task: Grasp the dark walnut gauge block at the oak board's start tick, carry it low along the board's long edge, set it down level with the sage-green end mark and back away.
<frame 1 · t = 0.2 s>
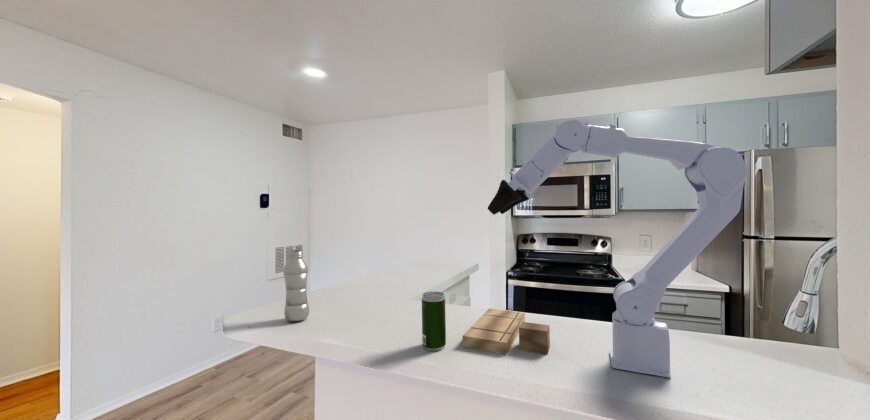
hand: (495, 211, 77), 31 cm above the countertop, tool tilted 45°, fingers open, 7 cm apart
walnut gauge block: (534, 348, 74), on the countertop
oak board: (496, 333, 83), on the countertop
plastic bottle: (297, 321, 95), on the countertop
beer can: (434, 347, 75), on the countertop
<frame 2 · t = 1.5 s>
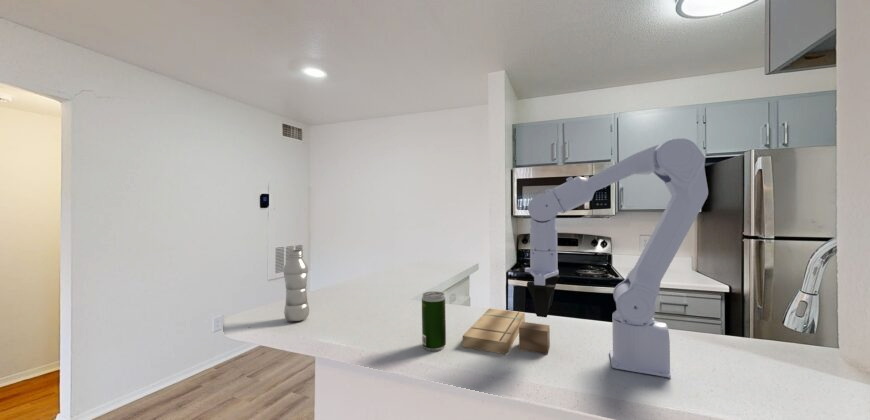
hand: (544, 311, 73), 8 cm above the countertop, tool pointing down, fingers open, 7 cm apart
nothing on the countertop moved.
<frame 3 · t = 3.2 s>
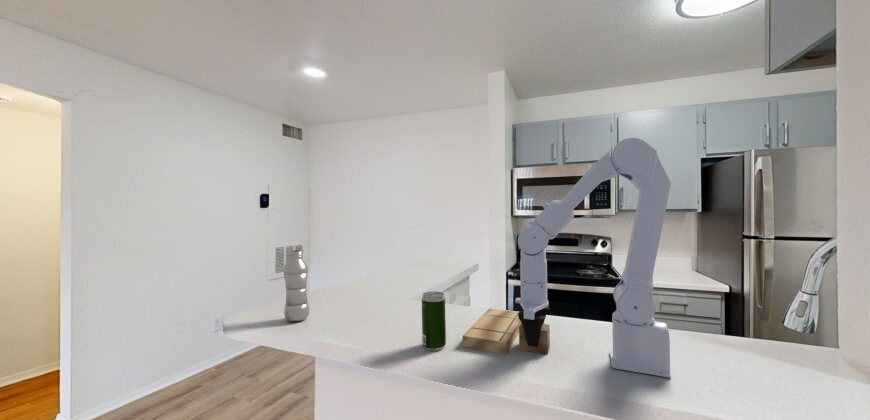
hand: (534, 341, 74), 1 cm above the countertop, tool pointing down, fingers closed on walnut gauge block, 4 cm apart
walnut gauge block: (534, 348, 74), on the countertop, touching gripper
everything else where it was.
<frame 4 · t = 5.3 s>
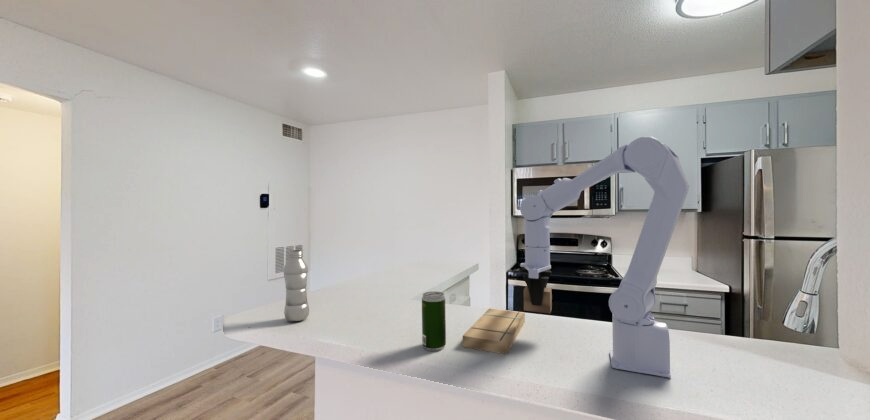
hand: (538, 302, 80), 8 cm above the countertop, tool pointing down, fingers closed on walnut gauge block, 4 cm apart
walnut gauge block: (537, 309, 80), point 7 cm above the countertop, touching gripper
everything else where it was.
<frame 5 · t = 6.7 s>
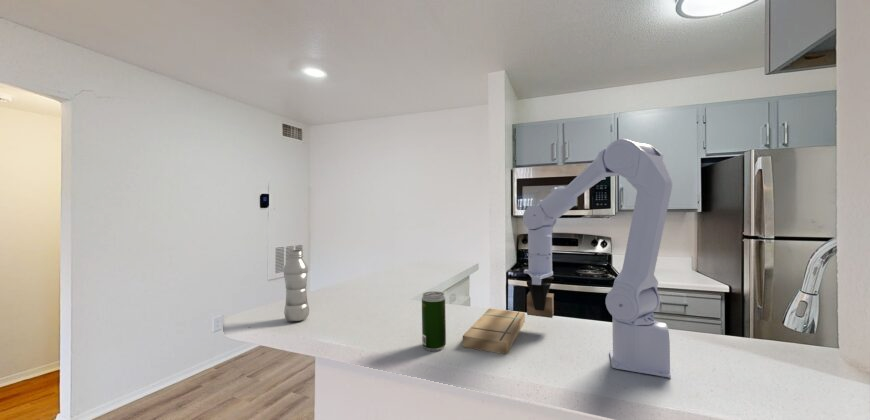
hand: (540, 307, 84), 6 cm above the countertop, tool pointing down, fingers closed on walnut gauge block, 4 cm apart
walnut gauge block: (540, 314, 84), point 4 cm above the countertop, touching gripper
everything else where it was.
when the fingers open (3 cm above the countertop, at t = 7.8 s): walnut gauge block drops 1 cm, on the countertop.
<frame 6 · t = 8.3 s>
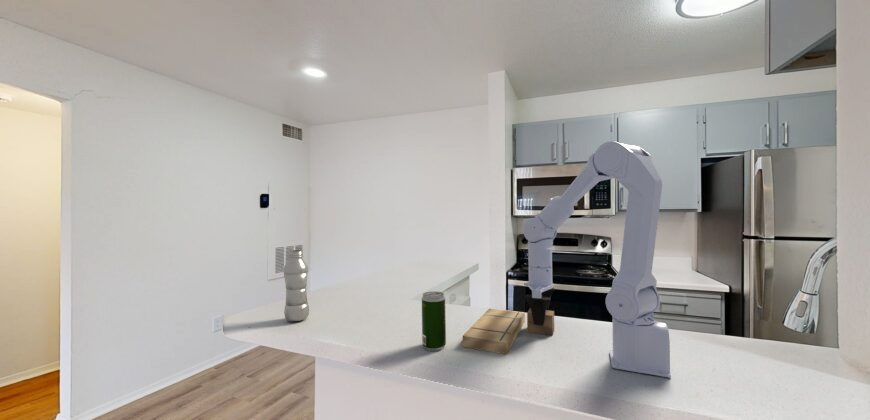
hand: (540, 319, 84), 3 cm above the countertop, tool pointing down, fingers open, 7 cm apart
walnut gauge block: (541, 331, 84), on the countertop
everything else where it was.
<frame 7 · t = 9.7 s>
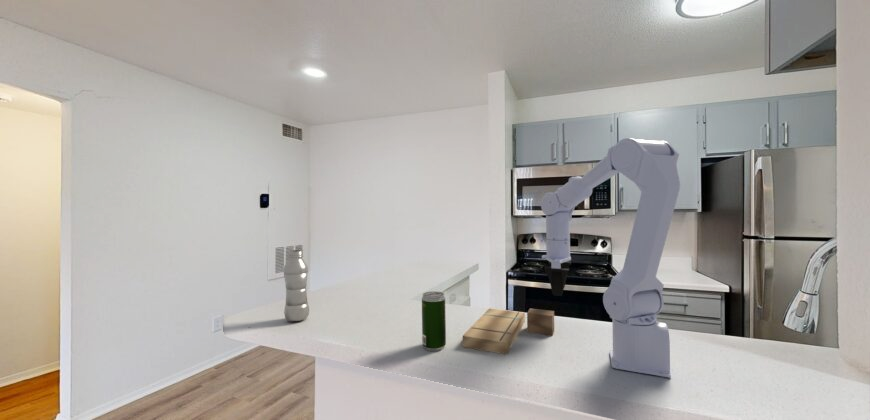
hand: (558, 291, 85), 9 cm above the countertop, tool pointing down, fingers open, 7 cm apart
nothing on the countertop moved.
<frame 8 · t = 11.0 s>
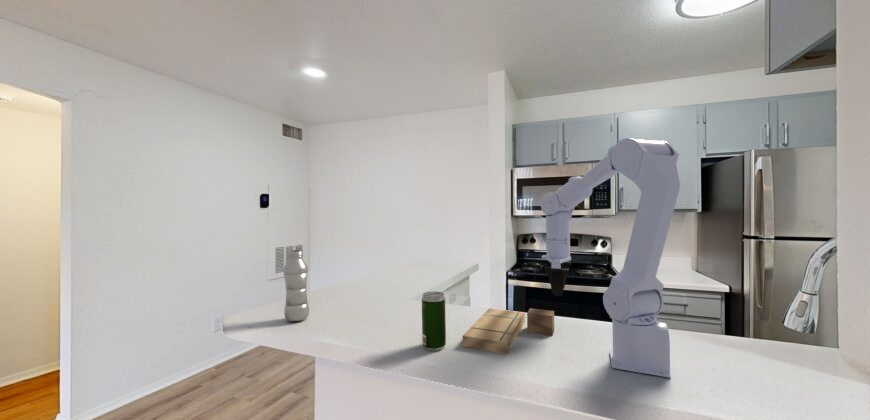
hand: (558, 291, 85), 9 cm above the countertop, tool pointing down, fingers open, 7 cm apart
nothing on the countertop moved.
at the end: walnut gauge block 0.1 cm from the target spot, on the countertop; walnut gauge block tilted 0°; the gripper is holding nothing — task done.
